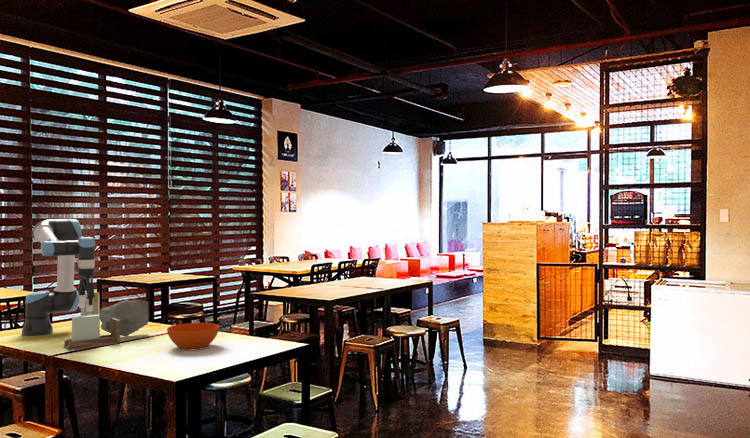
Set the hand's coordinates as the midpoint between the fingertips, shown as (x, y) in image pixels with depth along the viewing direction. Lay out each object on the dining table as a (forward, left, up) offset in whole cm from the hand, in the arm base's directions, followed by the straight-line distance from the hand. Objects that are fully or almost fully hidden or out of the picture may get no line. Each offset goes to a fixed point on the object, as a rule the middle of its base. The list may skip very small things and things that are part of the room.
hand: (86, 309), depth 295 cm
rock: (-12, +23, -19) cm, 32 cm away
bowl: (+38, +40, -19) cm, 59 cm away
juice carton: (-37, +12, -19) cm, 43 cm away
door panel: (0, 0, -17) cm, 17 cm away
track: (0, +3, -18) cm, 19 cm away
